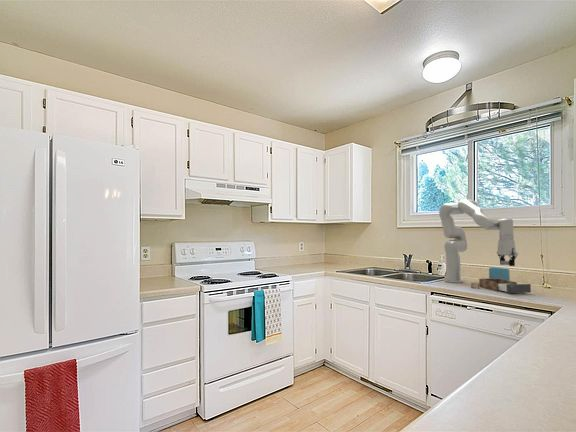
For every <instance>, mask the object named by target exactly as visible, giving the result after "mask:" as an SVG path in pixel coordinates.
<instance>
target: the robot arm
mask: <svg viewBox="0 0 576 432" xmlns="http://www.w3.org/2000/svg"><path fill="white" fill-rule="evenodd" d="M438 213H439V217H440V221H441V226H442V231H443V235H444V237H445V238H447V239H449V240H447V241H446V242H445V243H444V247H443V248H444V251H445V265H446V267H445V271H446V274H445V275H444V277H445V278H444V280H443V281H444V282H447V283H454V284H455V283H457V284H458V283H463V282H464V280H463V279H461V256H460V253H462V252H463V253H464V252H465V251H466V250H467V249H468V241H467V237H466V232H465V230H464V229H463V227H461V226H459V225H455V221H454V218H453V217H452V215H462V214H466V215H468V217H471V218H472V220H473V221H474V223H475V224H476V225H478V226H479V227H481V228H482V229H484V230H488V231H498V230H499V231H498V232H499V239H498V242H497V251H496V254H497V256H498V258H499V264H500V265H501V266H502V265H503V266H504V264H501V261H506V256H508V257H509V260H508V261H509V265H508V266H510V267H515V265H516V262H515V260H516V258H517V256H518V255H519V253H518V252H517V249H516V244H515V240H514V238H515V237H514V220H513V219H512V218H501V219H500V218H489V217H487V216H485V215H484V214H483V208H482V207H480V206H479V205H478V203H477V201H475V200H474V199H467V198H466V199H461V200H459V201H458V203H455V202H447V203H446V202H445V203H443V204H441V206H440V207H439V212H438Z"/></svg>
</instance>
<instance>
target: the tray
mask: <svg viewBox="0 0 576 432" xmlns="http://www.w3.org/2000/svg"><path fill="white" fill-rule="evenodd" d="M531 285H532V284H531V283H517V284H498V290H502V291H501V292H506V293H509V294H511V293H512V294H515V293H517V294H518V293H519V294H520V293H525V294H526V293H531V291H532V290H531V287H532V286H531Z"/></svg>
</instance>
